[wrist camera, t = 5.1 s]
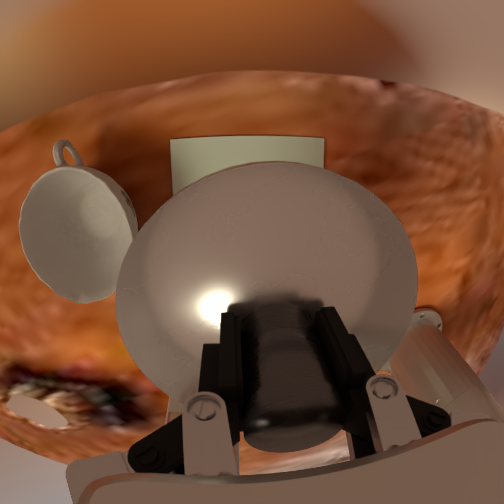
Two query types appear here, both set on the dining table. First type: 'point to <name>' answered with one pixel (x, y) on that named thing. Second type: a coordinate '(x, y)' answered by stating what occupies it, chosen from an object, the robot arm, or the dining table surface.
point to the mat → (237, 154)
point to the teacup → (77, 229)
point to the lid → (267, 290)
